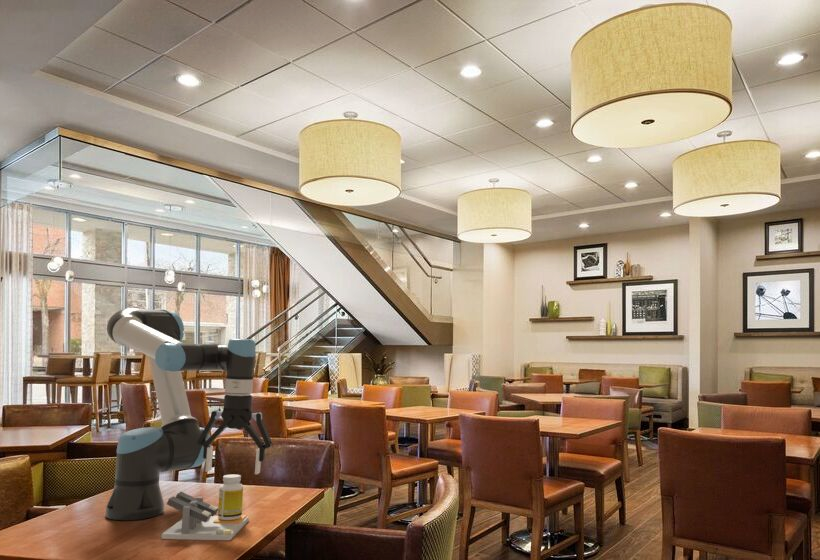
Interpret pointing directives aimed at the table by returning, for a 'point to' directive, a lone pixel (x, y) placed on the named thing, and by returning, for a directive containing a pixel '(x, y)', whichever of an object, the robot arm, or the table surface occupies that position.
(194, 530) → the breaker panel
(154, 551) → the table surface
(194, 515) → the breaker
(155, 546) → the table surface
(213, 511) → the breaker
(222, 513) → the pill bottle
